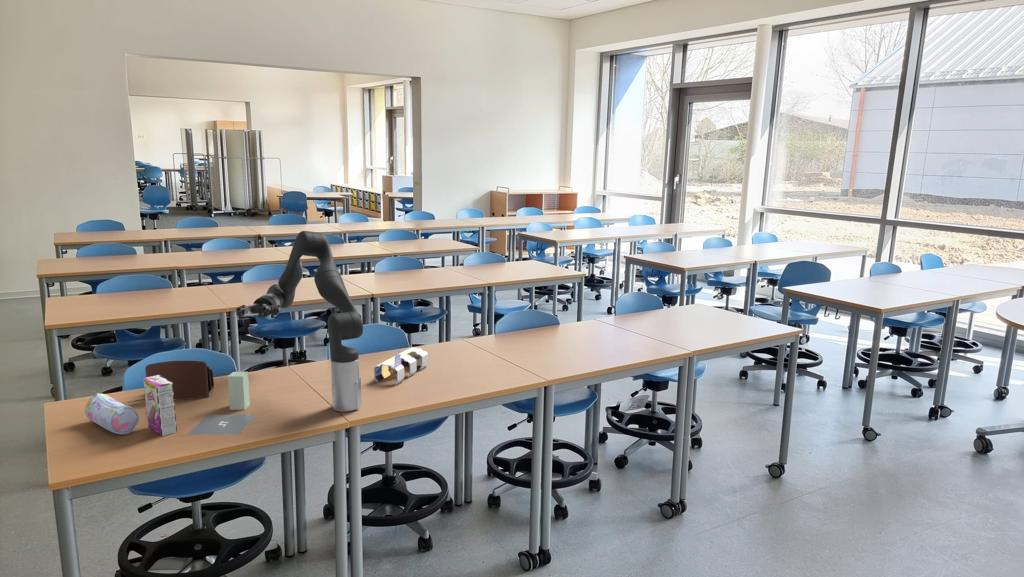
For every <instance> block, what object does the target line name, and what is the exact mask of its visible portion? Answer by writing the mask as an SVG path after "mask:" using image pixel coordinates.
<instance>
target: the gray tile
mask: <svg viewBox="0 0 1024 577" xmlns="http://www.w3.org/2000/svg"><path fill="white" fill-rule="evenodd" d="M256 416H257V414H207V415H206V416H205V417H204V418H202V420H200V421H199V422H198V423H197V424H196V425H195V426H194V427H193V428H191V429H190V430H189V431H188V432H187V433H186V435H188V436H189V435H190V436H191V435H195V436H196V435H240V434H241V433H242V432H243V431H244V430H245V429H246V427H247V426H249V424H250V423H251V422H252V421H253V420H254V419H255V417H256Z"/></svg>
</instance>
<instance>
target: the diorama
mask: <svg viewBox="0 0 1024 577" xmlns="http://www.w3.org/2000/svg"><path fill="white" fill-rule="evenodd" d="M427 365H429V352H427V351H426V350H423V349H422V348H418V347H410V348H408V349H405V350H404V351H402V352H401V350H400V349H398V350H397V353H396V354H395V355H394V356H392V357H390V358H389V359H386V360H385V361H383V362H381V363H378V364H377V365H375V367H373V378H374V380H375V381H376V383H379V382H381V381H383V380H384V379H386V378H388V377H389V376H391V375H393V374H395V373H396V382H395V383H394V385H395V386H396V385H398V384H400V383H401V382H403V380H404V378H405V368H406V367H408V366H409V373H408V375H407V378H410V377H411V376H413V375H414V374H415V373H416V371H417V369H418V368H417V367H418V366H419V367H420V368H419V371H421V370H423V369H424V368H426V367H427Z"/></svg>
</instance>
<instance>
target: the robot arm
mask: <svg viewBox="0 0 1024 577" xmlns="http://www.w3.org/2000/svg"><path fill="white" fill-rule="evenodd" d="M291 248H292V249H291V250H290V254H289V257H288V261H287V262H286V263H287V264H286V266H285V269H284V271H283V272H282V274H281V275H280V277H279V278H278V283H275V284H272V285H271V286H270V287H269V288H268V290H267V291H266V293H265V294H263V295H262V296H259V297H258V298H257V299H255V300H254V302H253V304H250V305H245V304H242V305H239V306H238V307H236V308H235V311H236V313H235V314H236V316H237V317H238V318H242V317H244V316H248V317H249V316H257V317H261V318H264V319H265V318H268V317H270V316H272V315H273V316H278V315H279V314H280V313H281V308H282V309H287V308H290V307H291V306H292V304H293V303H294V300H295V294H296V289H297V287H298V285H299V283H300V281H301V279H302V278H303V268H302V264H301V258H302V257H303V256H306V257H311V258H312V257H315V258H317V259H318V260H319V265H318V267H317V268H316V271H315V273H314V277H313V278H314V279H313V280H314V284H315V286H316V289H317V292H318V293H319V295H320V297H322V299H323V300H325V301H327V302H328V303H329V304H331V305H332V306H334V307H335V308H337V309H338V310H339V311H340V312H336V313H332V314H331V313H330V315H329V316H328V318H327V333H328V342H329V344H328V345H329V355H330V376H331V380H330V381H331V399H332V400H331V403H332V404H331V405H332V410H334V411H336V412H353V411H358V410H359V409H360V407H361V406H362V380H361V377H360V362H359V351H358V349H356V348H355V347H350V346H347V345H343V343H342V341H348V340H355V339H358V338H360V337H362V336H363V333H364V324H363V320H362V318H361V315H360V313H359V312H358V310H357V308H356V306H355V304H354V303H353V301H352V299H351V297H350V294H349V293H348V290H347V289H346V288H347V287H346V285H345V283H344V280H343V278H342V276H341V273H340V270H339V269H338V266H337V265H336V261H335V259H334V256H333V252H332V250H331V249H332V248H331V245H330V241H329V239H328V238H327V236H326V234H324V233H322V232H316V231H310V230H302V231H300V232H298V234H297V236H296V237H295V239H294V242H293V245H292V247H291Z"/></svg>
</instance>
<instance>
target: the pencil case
mask: <svg viewBox="0 0 1024 577" xmlns="http://www.w3.org/2000/svg"><path fill="white" fill-rule="evenodd" d="M84 414H85V417H86V418H87V419H88V420H89V421H90V422H92V423H95V424H96V425H98V426H100V427H101V428H103V429H105V430H107V431H109V432H111V433H113V434H117V435H122V436H123V435H128V434H131V432H132V431H133V430H134V429H135V428H136V427H137V426H138V424H139V422H140V415H139V412H138V411H137V410H136V409H135V408H134V407H132V406H129V405H125V404H123V403H122V402H120V401H118V400H116V399H114V398H112V396H110V395H108V394H105V393H98V392H97V393H95V394H94V395H91V396H90V397H89V398H88V400H87V403H86V405H85V408H84Z"/></svg>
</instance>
